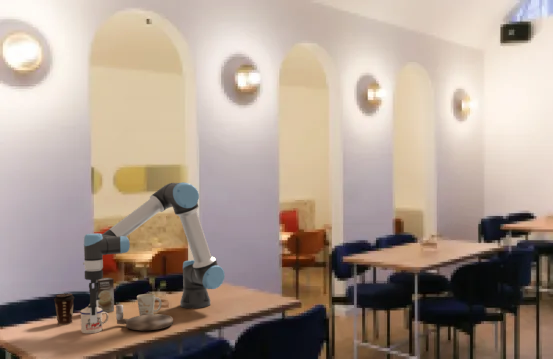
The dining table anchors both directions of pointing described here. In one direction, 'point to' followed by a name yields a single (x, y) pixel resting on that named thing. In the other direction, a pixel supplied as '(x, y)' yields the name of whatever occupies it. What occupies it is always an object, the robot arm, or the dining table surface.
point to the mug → (147, 304)
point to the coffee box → (106, 294)
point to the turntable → (143, 320)
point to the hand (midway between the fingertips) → (94, 318)
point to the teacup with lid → (92, 327)
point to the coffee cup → (64, 308)
